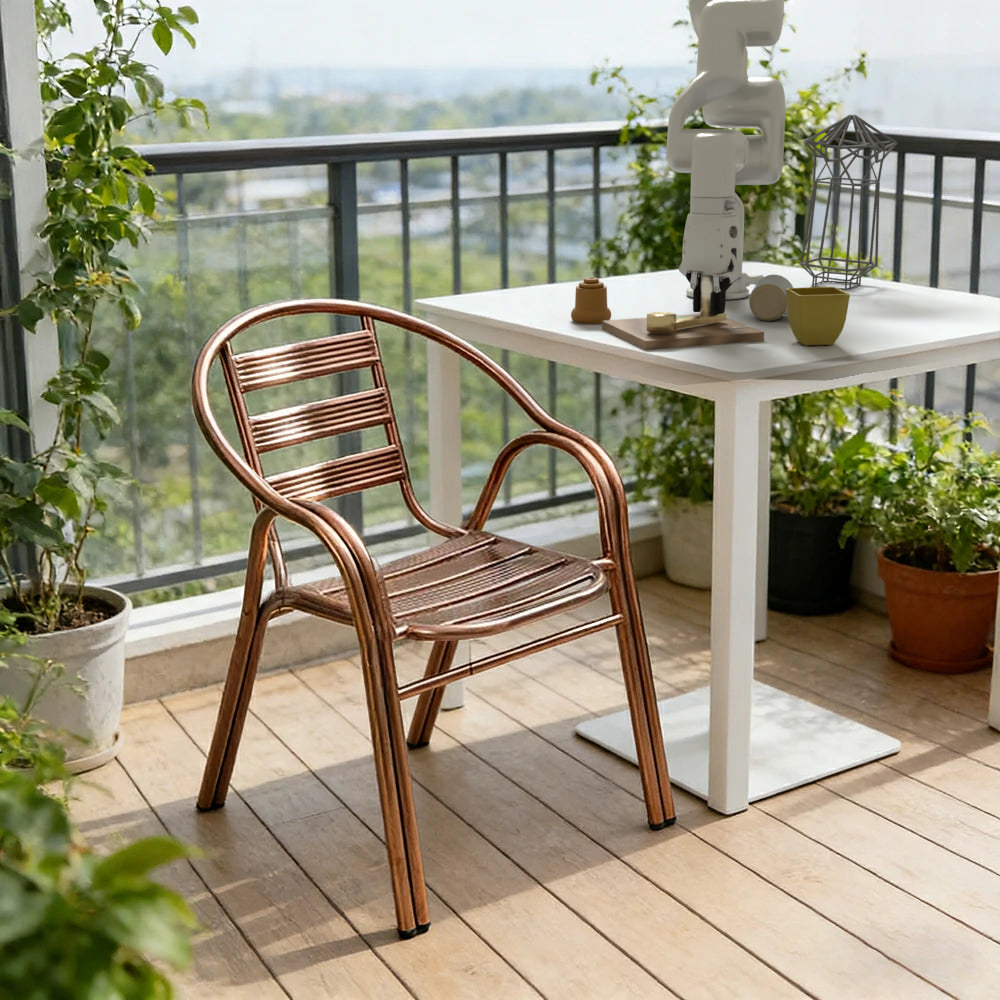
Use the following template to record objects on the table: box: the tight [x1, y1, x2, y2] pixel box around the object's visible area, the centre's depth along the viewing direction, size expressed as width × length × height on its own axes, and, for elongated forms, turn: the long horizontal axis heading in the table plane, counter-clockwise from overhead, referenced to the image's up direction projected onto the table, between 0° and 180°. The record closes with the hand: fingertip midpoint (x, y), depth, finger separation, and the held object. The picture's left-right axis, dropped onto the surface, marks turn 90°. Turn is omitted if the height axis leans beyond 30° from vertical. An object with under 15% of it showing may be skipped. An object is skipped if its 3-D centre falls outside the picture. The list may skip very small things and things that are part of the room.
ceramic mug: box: [748, 274, 794, 322], centre depth 262 cm, size 11×8×8 cm
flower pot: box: [786, 286, 851, 347], centre depth 240 cm, size 9×9×9 cm
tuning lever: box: [646, 274, 727, 334], centre depth 245 cm, size 18×5×8 cm, turn 130°
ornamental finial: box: [570, 277, 612, 325], centre depth 262 cm, size 8×8×8 cm
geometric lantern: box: [799, 114, 898, 291], centre depth 292 cm, size 16×16×35 cm
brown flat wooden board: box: [601, 313, 765, 350], centre depth 249 cm, size 22×20×2 cm
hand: (708, 311), depth 249 cm, fingers closed on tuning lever, 3 cm apart
